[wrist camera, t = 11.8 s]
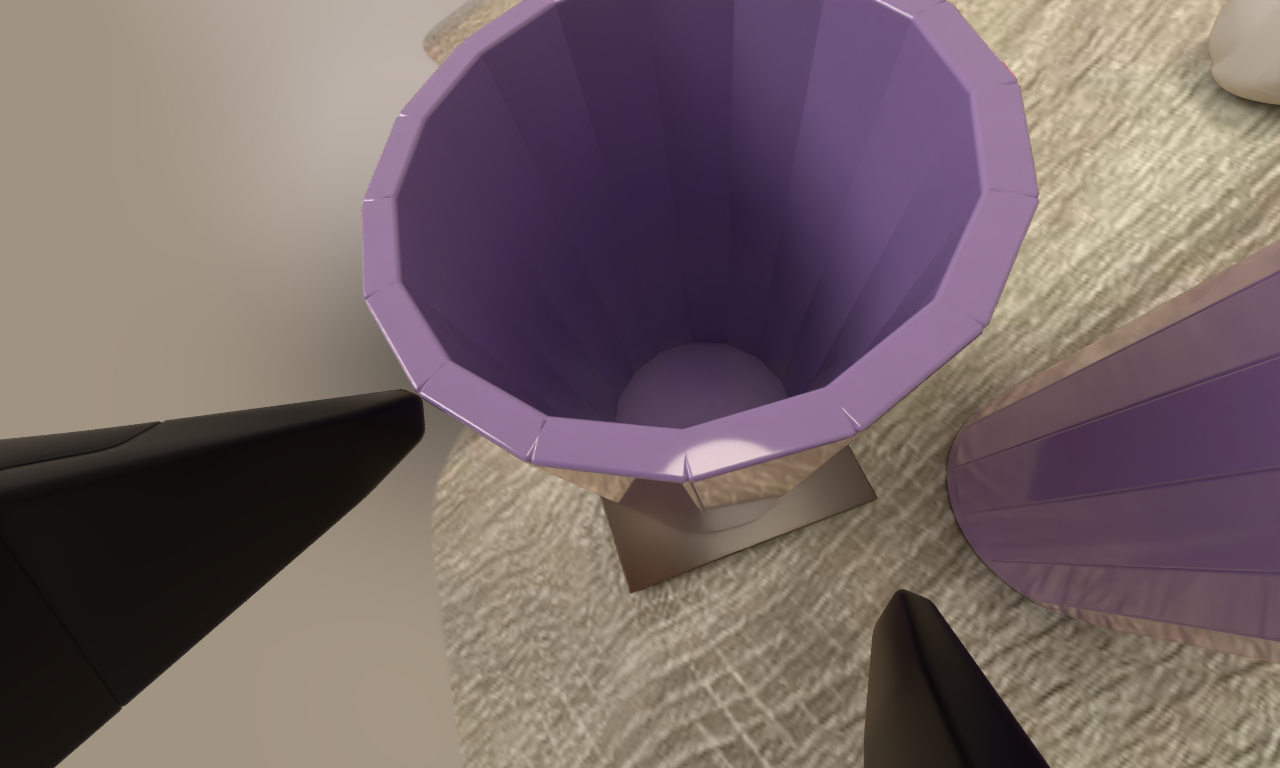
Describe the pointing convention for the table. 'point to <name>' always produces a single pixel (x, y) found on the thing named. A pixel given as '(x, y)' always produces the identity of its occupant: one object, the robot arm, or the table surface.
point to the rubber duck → (1247, 49)
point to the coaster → (674, 550)
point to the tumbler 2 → (1144, 472)
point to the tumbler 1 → (696, 235)
